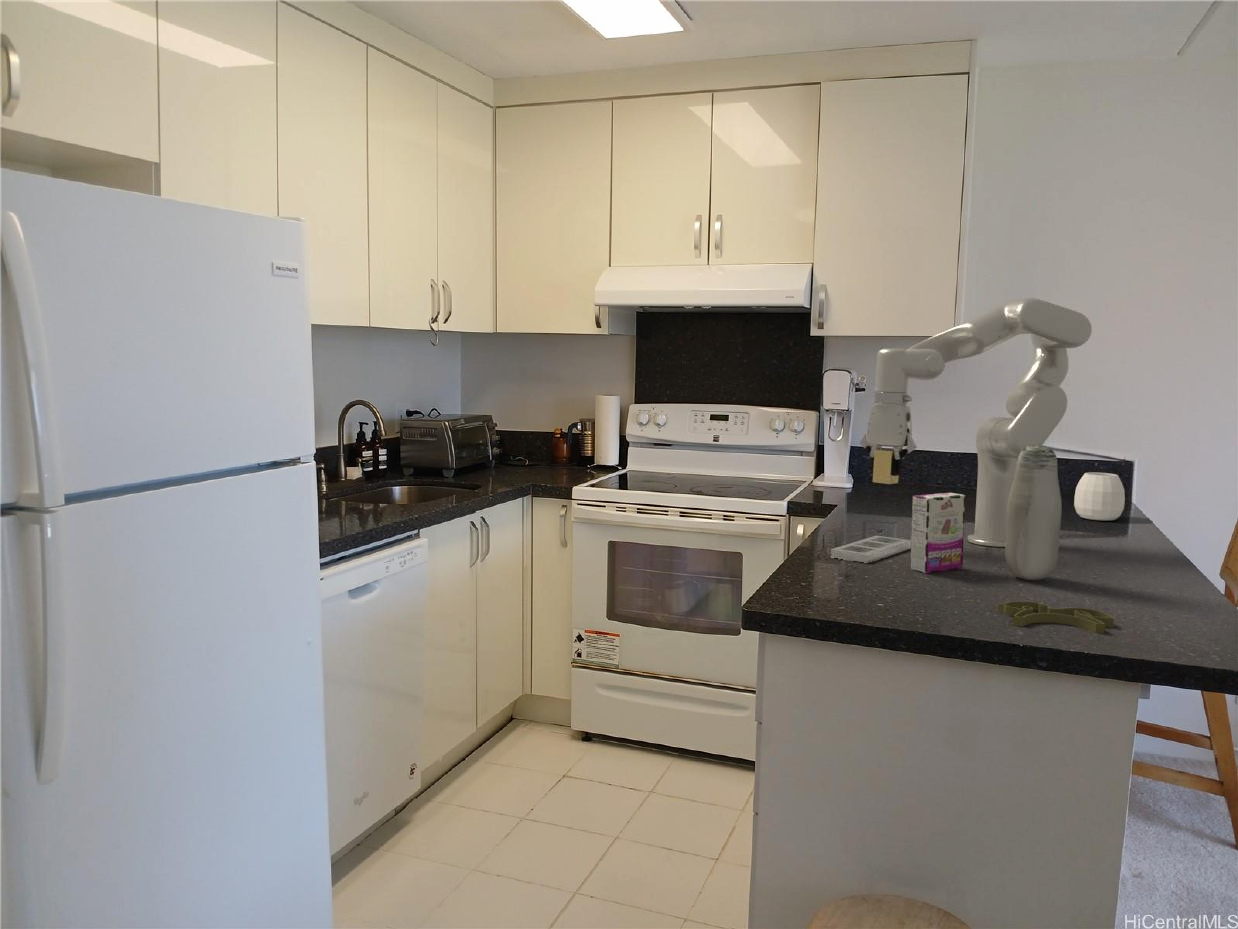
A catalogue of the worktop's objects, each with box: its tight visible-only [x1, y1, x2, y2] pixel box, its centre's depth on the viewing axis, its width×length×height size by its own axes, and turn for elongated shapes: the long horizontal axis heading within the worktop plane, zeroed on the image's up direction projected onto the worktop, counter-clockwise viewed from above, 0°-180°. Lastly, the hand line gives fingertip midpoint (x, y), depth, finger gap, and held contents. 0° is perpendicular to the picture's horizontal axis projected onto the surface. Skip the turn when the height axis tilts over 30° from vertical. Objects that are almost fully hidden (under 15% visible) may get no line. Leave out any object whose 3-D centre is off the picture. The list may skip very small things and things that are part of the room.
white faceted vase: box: [1073, 471, 1126, 522], centre depth 270 cm, size 13×13×14 cm
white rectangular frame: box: [830, 535, 911, 564], centre depth 215 cm, size 9×24×2 cm, turn 140°
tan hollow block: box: [872, 447, 900, 485], centre depth 224 cm, size 4×4×8 cm
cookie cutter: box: [996, 600, 1115, 634], centre depth 159 cm, size 18×12×2 cm, turn 72°
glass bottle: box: [1004, 444, 1063, 581], centre depth 189 cm, size 10×10×28 cm
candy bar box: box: [909, 492, 966, 575], centre depth 198 cm, size 11×5×16 cm, turn 117°
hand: (885, 473), depth 224 cm, fingers closed on tan hollow block, 4 cm apart
